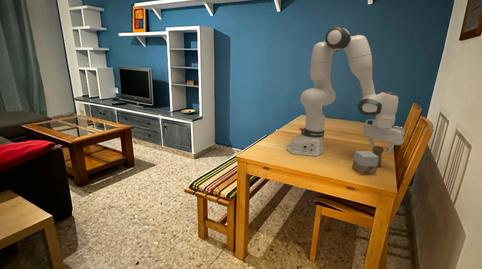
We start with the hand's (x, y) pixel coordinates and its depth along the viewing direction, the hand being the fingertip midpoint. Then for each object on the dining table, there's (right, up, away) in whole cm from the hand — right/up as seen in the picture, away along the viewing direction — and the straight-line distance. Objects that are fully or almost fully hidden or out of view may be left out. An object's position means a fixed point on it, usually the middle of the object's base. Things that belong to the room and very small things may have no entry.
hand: (379, 148), depth 134 cm
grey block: (-11, -7, -6) cm, 14 cm away
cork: (-1, -10, +4) cm, 10 cm away
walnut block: (-11, -12, -4) cm, 17 cm away
